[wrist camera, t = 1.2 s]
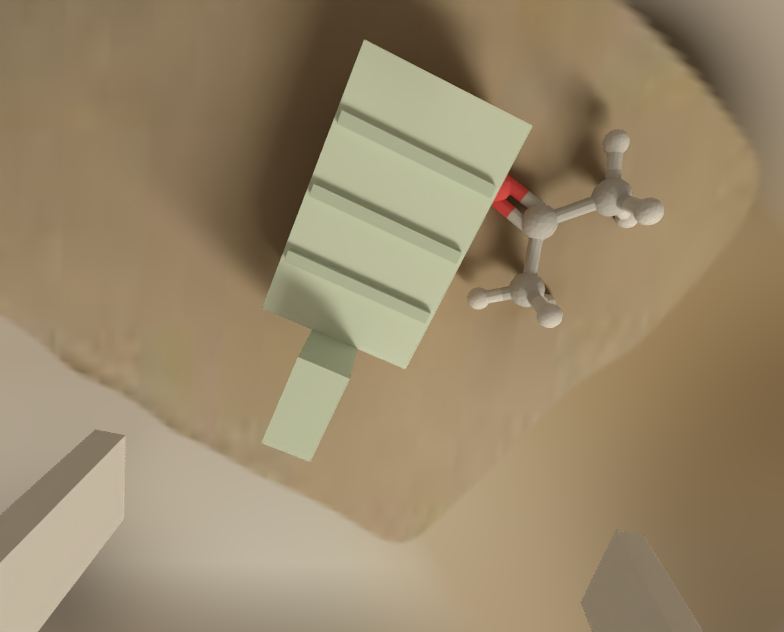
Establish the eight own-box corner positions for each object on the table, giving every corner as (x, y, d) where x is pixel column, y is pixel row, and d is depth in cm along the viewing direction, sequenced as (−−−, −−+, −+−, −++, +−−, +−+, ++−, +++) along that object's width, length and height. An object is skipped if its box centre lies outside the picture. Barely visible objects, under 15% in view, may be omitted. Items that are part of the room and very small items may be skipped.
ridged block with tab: (237, 380, 31) (206, 421, 26) (365, 43, 24) (355, 17, 19) (368, 433, 32) (361, 482, 27) (527, 126, 25) (556, 121, 20)
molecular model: (433, 256, 38) (529, 337, 36) (404, 264, 31) (521, 365, 29) (559, 96, 32) (676, 183, 31) (558, 61, 25) (710, 172, 24)
